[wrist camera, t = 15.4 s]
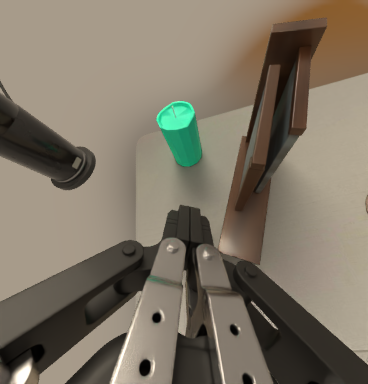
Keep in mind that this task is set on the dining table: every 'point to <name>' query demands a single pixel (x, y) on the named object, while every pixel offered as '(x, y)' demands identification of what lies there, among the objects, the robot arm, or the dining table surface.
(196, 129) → the candle
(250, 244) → the screen frame
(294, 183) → the dining table surface
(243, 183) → the glass door
